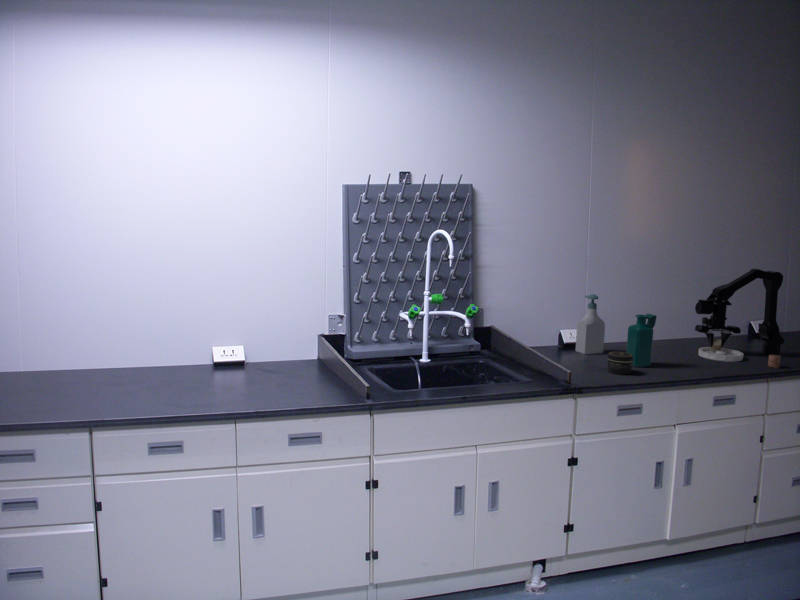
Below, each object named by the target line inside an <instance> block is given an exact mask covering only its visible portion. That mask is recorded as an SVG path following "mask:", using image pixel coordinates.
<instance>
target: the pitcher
mask: <svg viewBox="0 0 800 600" xmlns="http://www.w3.org/2000/svg"><path fill="white" fill-rule="evenodd" d="M634 317H635V318H636V323H635V324H632V325H629V326H628V328H627V340H626V351H625V353H629V354H632V355H633V365H632V367H634V368H646V367H648V368H649V367H650V366H651V365H652V355H653V343H654V327H655V326H656V322H657V315H655V314H652V313H646V314H636V315H634Z"/></svg>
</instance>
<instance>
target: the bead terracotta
mask: <svg viewBox="0 0 800 600" xmlns="http://www.w3.org/2000/svg"><path fill="white" fill-rule="evenodd" d="M781 357H782V356H778V355H769V356H768V362H767V367H768V366H769V367H768V368H770V367H773V368H772V369H780V367H781V366H780V365H781V359H782V358H781Z"/></svg>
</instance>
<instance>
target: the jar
mask: <svg viewBox="0 0 800 600" xmlns="http://www.w3.org/2000/svg"><path fill="white" fill-rule="evenodd" d="M606 362H607V363H606V369H607V371H608V373H610V374H613V375H618V376H619V375H622V376H624V375H631V373H632V371H633V366H632V365H633V355H632V354H629V353H626V351H625V352H624V351H610V352H608V353H607V361H606Z"/></svg>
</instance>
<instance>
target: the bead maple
mask: <svg viewBox="0 0 800 600" xmlns="http://www.w3.org/2000/svg"><path fill="white" fill-rule="evenodd" d="M721 345H722V339H721V338H719V337H714V338H713V345H712V347H711V349H712V350H721V348H722V347H721Z"/></svg>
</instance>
